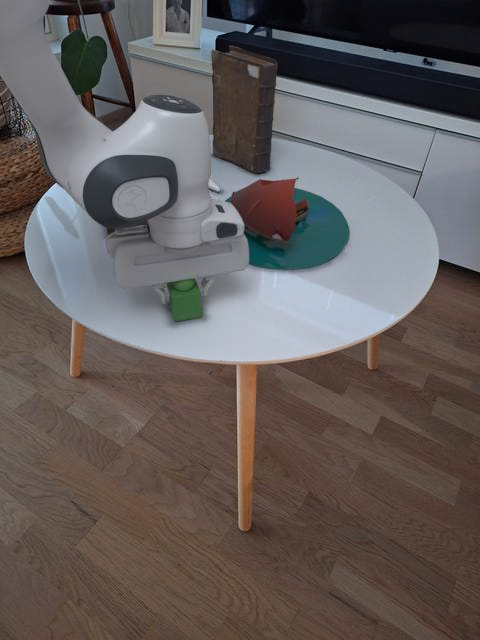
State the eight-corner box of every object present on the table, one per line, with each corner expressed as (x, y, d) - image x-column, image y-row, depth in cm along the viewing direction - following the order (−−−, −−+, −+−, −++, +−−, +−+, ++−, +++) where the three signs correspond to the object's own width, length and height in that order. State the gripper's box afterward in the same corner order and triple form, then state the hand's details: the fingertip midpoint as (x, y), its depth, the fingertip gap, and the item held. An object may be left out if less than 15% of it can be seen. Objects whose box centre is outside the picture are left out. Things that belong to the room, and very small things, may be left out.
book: (273, 171, 116) (282, 60, 99) (251, 178, 113) (257, 64, 96) (232, 149, 125) (233, 44, 109) (210, 155, 122) (209, 48, 105)
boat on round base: (187, 216, 98) (184, 168, 90) (293, 180, 109) (298, 134, 101) (261, 295, 83) (265, 246, 74) (376, 244, 93) (391, 196, 85)
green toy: (174, 321, 73) (170, 282, 68) (168, 304, 77) (165, 264, 71) (201, 317, 74) (200, 277, 69) (195, 299, 78) (193, 260, 72)
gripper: (105, 243, 60) (120, 322, 69) (255, 223, 65) (250, 299, 74) (101, 218, 64) (115, 296, 73) (241, 202, 69) (238, 276, 78)
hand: (184, 297), depth 74 cm, fingers closed on green toy, 4 cm apart
